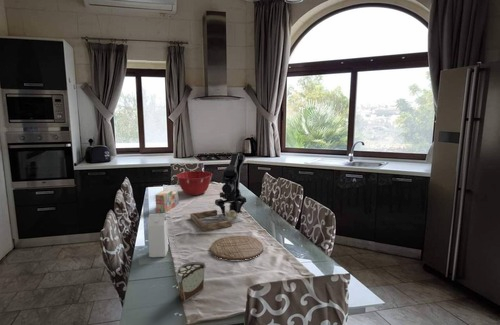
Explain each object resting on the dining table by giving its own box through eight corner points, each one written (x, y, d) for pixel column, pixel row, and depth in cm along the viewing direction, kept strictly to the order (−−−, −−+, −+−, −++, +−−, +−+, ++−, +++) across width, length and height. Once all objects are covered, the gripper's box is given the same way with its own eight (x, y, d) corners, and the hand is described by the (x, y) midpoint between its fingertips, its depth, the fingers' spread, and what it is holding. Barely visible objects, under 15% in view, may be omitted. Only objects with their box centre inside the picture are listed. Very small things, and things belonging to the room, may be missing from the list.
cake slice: (194, 282, 119) (193, 258, 117) (206, 287, 115) (205, 262, 114) (169, 298, 109) (167, 271, 107) (181, 304, 105) (180, 276, 104)
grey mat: (232, 213, 199) (232, 213, 199) (243, 220, 186) (243, 220, 186) (219, 216, 195) (219, 215, 195) (229, 223, 182) (229, 222, 182)
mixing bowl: (210, 197, 237) (209, 178, 235) (172, 197, 238) (172, 178, 235) (214, 188, 265) (214, 171, 263) (181, 188, 266) (180, 171, 263)
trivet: (270, 257, 140) (270, 253, 139) (215, 265, 133) (215, 261, 132) (254, 236, 163) (254, 233, 163) (206, 242, 156) (206, 238, 156)
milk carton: (152, 250, 146) (150, 211, 143) (168, 250, 147) (166, 211, 144) (149, 257, 139) (147, 217, 136) (165, 257, 140) (163, 216, 137)
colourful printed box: (170, 203, 223) (169, 186, 221) (178, 204, 222) (178, 187, 220) (156, 212, 202) (155, 194, 201) (164, 213, 201) (164, 194, 199)
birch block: (233, 216, 194) (233, 210, 193) (236, 218, 189) (236, 212, 189) (225, 217, 192) (225, 211, 191) (228, 219, 187) (228, 213, 187)
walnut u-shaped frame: (216, 214, 199) (216, 209, 198) (231, 226, 178) (231, 221, 177) (190, 218, 191) (190, 213, 191) (203, 231, 170) (203, 226, 170)
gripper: (238, 185, 199) (239, 208, 201) (211, 188, 191) (212, 213, 193) (246, 189, 189) (246, 213, 192) (218, 192, 181) (218, 218, 183)
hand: (231, 214), depth 190 cm, fingers open, 9 cm apart
